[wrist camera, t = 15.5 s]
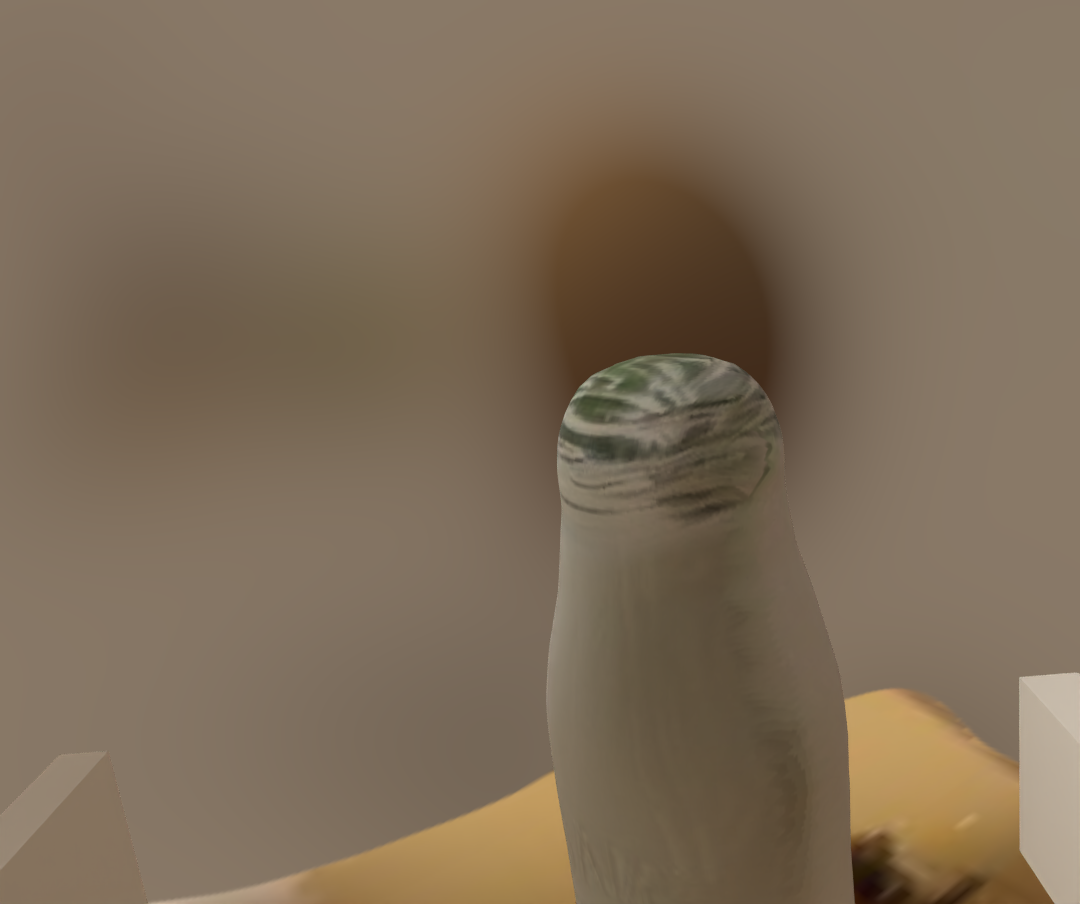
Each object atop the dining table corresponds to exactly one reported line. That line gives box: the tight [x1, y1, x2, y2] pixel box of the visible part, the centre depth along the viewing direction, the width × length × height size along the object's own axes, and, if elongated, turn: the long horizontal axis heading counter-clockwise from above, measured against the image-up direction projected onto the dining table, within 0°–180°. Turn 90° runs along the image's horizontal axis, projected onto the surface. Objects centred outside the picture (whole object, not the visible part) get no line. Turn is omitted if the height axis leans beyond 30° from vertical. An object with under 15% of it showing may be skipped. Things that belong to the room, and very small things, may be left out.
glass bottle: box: [546, 354, 855, 904], centre depth 34 cm, size 10×10×28 cm
